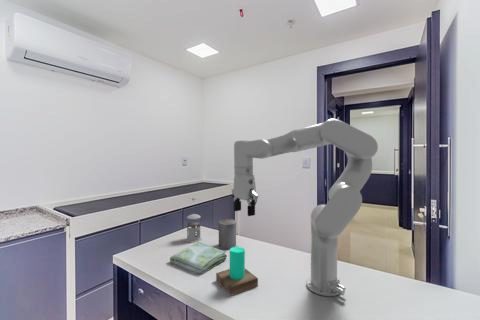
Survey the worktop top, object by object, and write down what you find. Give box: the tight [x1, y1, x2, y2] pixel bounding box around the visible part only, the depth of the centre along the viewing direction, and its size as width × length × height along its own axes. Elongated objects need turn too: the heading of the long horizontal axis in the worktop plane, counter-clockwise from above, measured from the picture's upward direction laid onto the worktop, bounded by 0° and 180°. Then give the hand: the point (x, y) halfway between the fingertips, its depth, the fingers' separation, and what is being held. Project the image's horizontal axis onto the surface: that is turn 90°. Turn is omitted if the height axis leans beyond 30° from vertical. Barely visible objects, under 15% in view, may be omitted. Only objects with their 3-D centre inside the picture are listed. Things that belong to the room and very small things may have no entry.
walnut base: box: [215, 268, 259, 296], centre depth 94 cm, size 12×12×3 cm
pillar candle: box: [218, 218, 237, 250], centre depth 131 cm, size 10×10×15 cm
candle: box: [229, 245, 246, 280], centre depth 94 cm, size 6×6×12 cm
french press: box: [185, 197, 203, 244], centre depth 141 cm, size 10×12×25 cm
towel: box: [169, 241, 228, 275], centre depth 113 cm, size 18×21×5 cm
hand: (244, 213), depth 97 cm, fingers open, 9 cm apart
